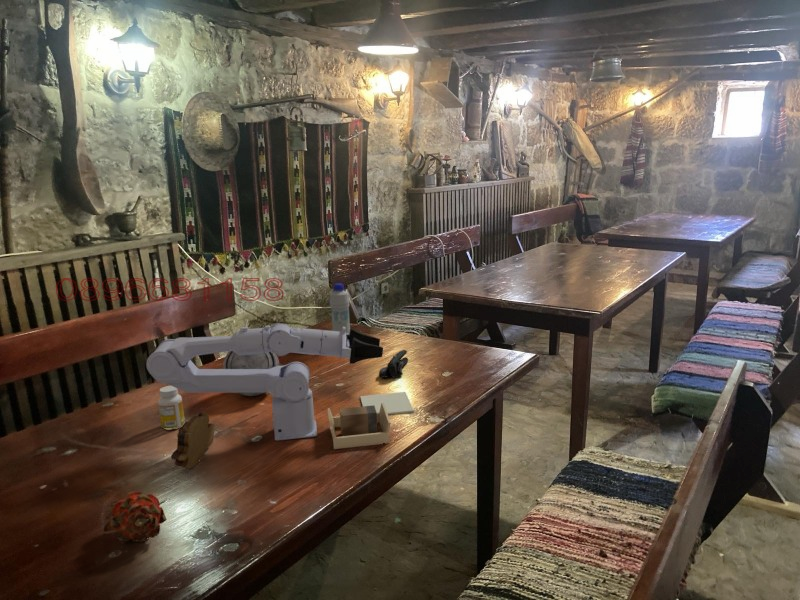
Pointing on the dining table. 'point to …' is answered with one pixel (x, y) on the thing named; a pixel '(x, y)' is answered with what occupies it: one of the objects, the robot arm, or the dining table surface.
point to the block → (358, 420)
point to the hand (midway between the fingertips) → (381, 347)
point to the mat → (389, 402)
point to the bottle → (340, 308)
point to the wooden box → (363, 438)
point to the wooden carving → (193, 441)
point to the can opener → (394, 365)
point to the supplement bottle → (170, 407)
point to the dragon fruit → (136, 517)
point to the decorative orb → (250, 364)
